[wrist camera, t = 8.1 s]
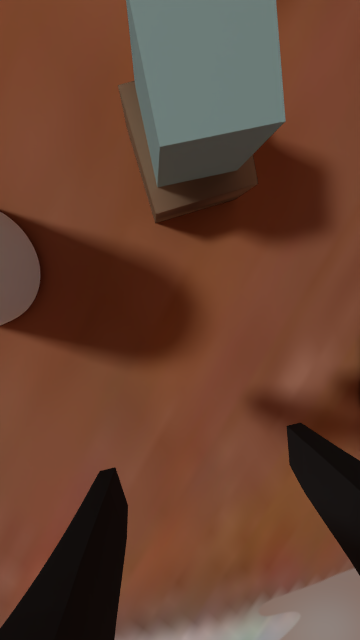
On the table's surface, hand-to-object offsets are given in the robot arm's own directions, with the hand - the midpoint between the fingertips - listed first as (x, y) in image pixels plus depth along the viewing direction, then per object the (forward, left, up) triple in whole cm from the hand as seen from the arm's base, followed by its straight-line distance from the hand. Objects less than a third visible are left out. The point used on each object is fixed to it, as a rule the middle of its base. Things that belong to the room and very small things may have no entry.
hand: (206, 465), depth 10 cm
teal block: (-3, -14, -7) cm, 16 cm away
